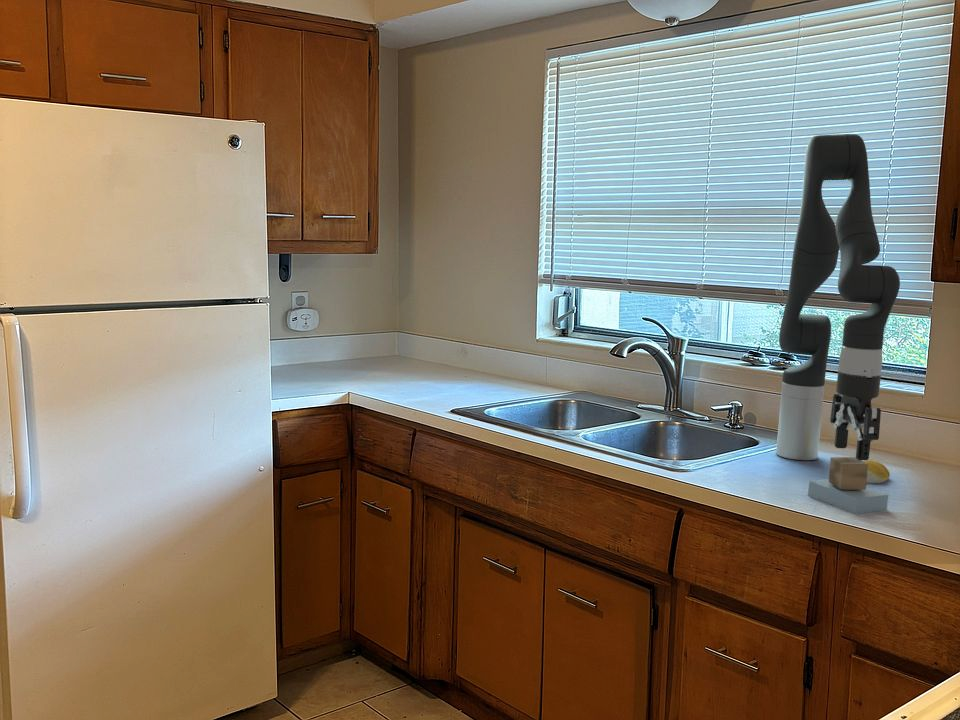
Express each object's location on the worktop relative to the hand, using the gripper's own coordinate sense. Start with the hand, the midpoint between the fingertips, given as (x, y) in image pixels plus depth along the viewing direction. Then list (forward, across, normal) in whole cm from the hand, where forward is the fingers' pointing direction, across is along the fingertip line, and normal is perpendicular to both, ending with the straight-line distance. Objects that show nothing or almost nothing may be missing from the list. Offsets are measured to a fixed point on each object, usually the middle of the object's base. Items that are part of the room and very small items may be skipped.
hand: (851, 453), depth 172 cm
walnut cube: (+6, 0, 0) cm, 6 cm away
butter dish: (+10, 0, 0) cm, 10 cm away
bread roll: (+10, -17, +14) cm, 24 cm away
